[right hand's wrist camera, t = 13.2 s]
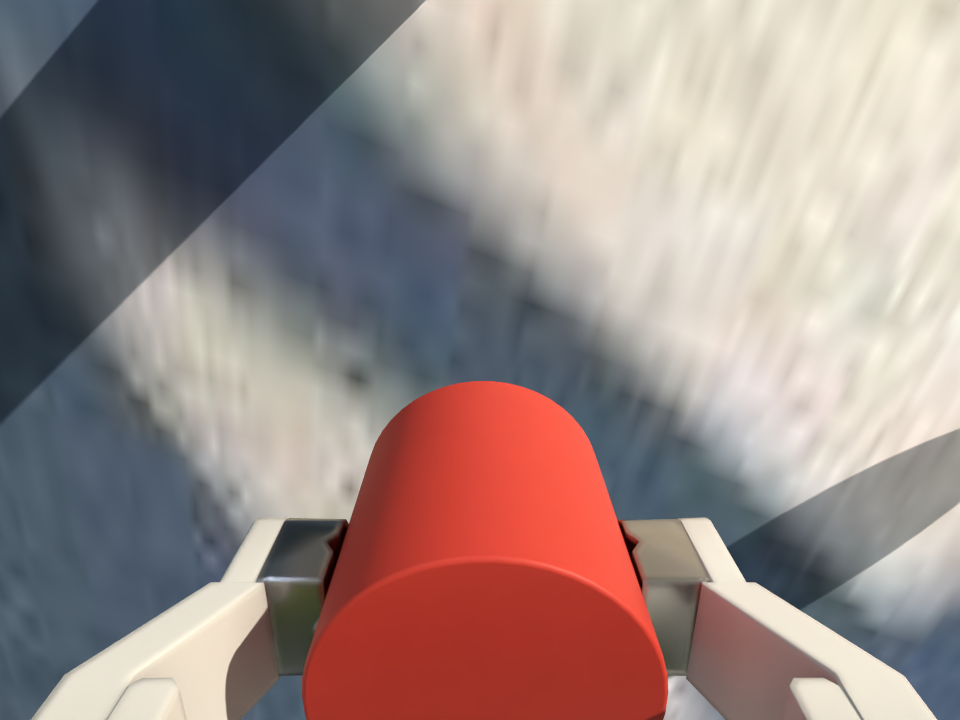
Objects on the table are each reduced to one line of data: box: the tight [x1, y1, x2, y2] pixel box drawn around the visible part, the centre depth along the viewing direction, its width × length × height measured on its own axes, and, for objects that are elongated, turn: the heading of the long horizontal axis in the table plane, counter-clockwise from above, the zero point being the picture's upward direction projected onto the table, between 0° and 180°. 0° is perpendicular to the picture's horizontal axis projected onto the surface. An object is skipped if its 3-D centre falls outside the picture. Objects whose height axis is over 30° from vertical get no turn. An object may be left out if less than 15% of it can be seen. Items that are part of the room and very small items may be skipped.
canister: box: [302, 381, 668, 720], centre depth 10 cm, size 5×5×5 cm
